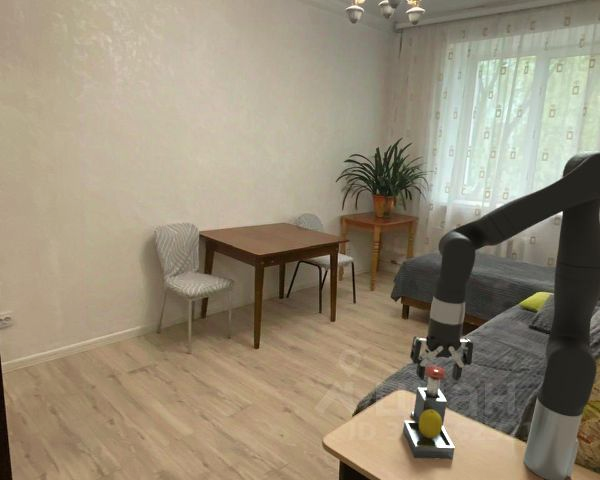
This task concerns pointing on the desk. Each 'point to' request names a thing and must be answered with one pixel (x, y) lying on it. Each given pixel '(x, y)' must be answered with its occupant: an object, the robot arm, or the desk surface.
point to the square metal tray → (427, 443)
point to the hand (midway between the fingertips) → (437, 378)
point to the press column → (428, 404)
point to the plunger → (434, 380)
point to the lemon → (430, 423)
